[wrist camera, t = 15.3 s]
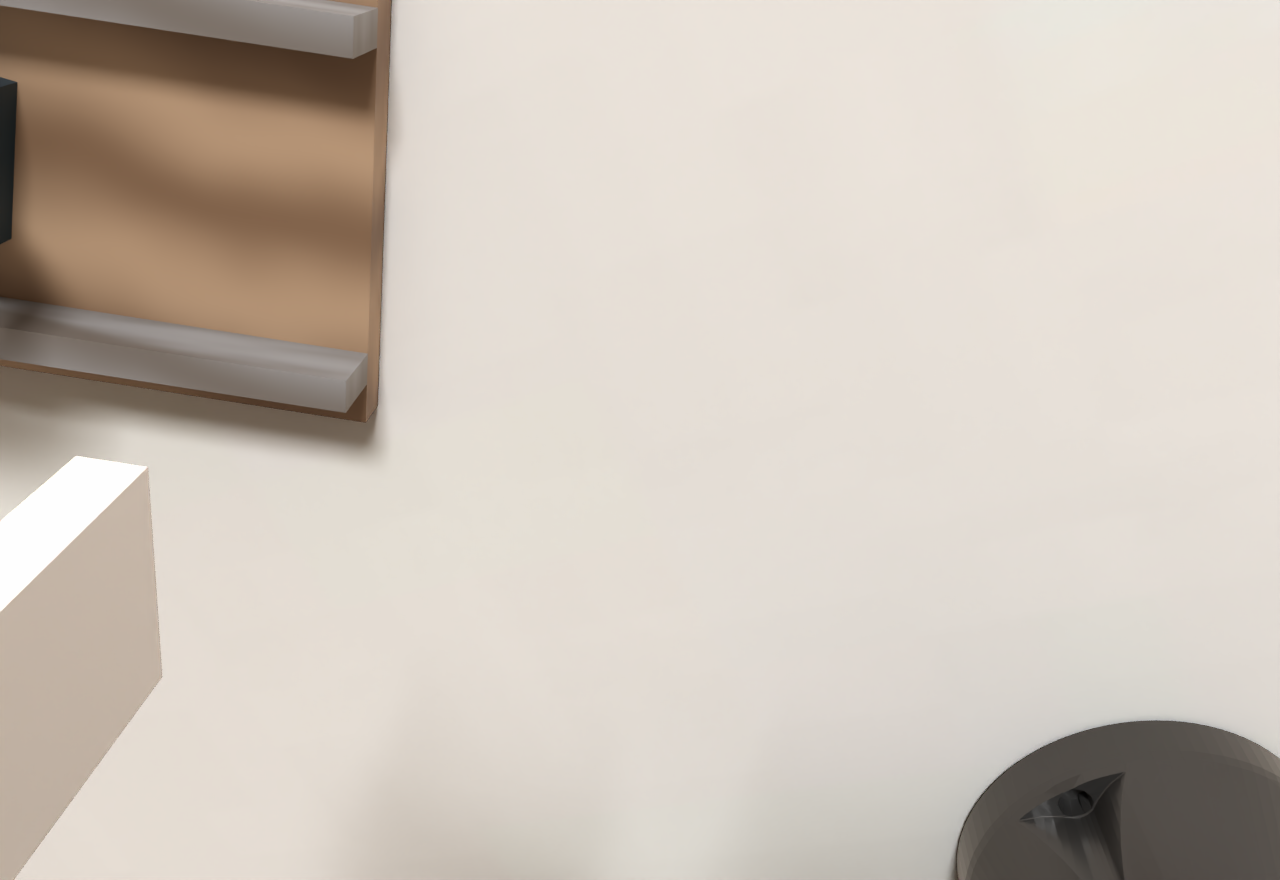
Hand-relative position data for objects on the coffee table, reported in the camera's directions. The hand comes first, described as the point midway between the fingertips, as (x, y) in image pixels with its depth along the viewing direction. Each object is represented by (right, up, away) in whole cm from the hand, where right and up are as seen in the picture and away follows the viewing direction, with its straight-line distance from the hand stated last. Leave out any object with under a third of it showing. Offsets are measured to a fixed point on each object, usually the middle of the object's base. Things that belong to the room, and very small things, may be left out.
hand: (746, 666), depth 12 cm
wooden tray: (-22, +13, +28) cm, 38 cm away
